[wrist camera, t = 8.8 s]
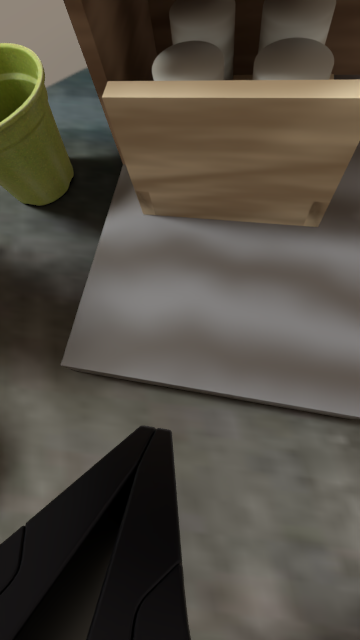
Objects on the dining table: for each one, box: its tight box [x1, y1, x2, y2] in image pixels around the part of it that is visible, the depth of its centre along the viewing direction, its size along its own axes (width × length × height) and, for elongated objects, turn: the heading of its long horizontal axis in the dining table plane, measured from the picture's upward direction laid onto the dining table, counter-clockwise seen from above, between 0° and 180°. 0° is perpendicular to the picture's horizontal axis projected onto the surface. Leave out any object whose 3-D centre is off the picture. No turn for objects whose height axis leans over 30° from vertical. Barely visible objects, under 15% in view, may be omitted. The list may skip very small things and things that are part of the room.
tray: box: [102, 0, 360, 227], centre depth 20 cm, size 12×13×9 cm
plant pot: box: [0, 43, 74, 206], centre depth 25 cm, size 9×9×9 cm
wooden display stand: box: [61, 0, 360, 419], centre depth 17 cm, size 30×19×17 cm, turn 169°
